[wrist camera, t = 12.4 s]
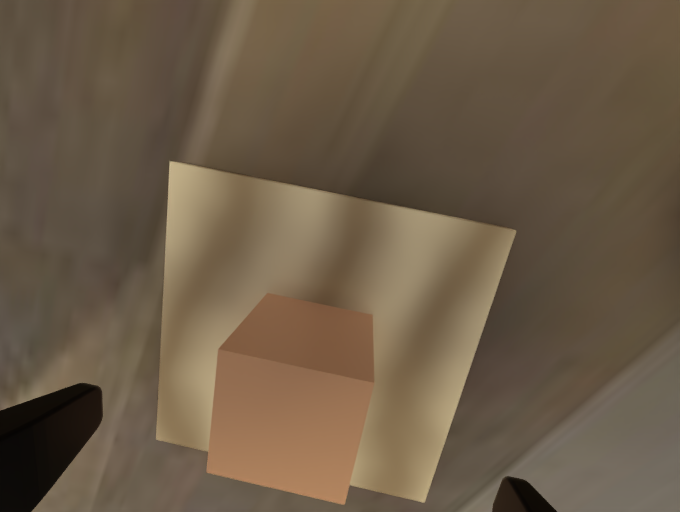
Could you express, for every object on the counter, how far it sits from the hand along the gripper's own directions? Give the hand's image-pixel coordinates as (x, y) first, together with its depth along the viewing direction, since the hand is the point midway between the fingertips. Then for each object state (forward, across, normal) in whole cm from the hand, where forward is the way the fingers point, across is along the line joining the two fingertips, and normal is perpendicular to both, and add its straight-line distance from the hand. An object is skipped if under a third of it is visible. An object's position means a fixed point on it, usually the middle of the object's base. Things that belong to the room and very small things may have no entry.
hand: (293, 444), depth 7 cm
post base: (+12, +1, +4) cm, 13 cm away
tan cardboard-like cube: (+11, +1, +4) cm, 12 cm away
